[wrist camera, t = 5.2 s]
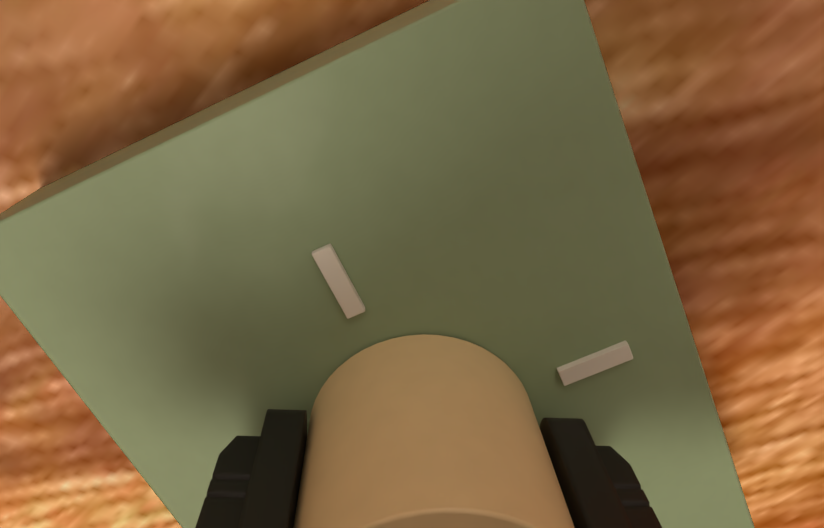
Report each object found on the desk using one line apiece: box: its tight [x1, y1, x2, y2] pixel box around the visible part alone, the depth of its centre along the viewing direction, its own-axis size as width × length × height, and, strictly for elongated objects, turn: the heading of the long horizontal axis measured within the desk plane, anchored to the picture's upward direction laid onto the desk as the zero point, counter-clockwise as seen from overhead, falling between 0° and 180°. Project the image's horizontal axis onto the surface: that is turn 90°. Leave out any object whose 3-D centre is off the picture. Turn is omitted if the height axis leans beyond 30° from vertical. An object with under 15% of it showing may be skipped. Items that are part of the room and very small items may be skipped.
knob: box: [293, 334, 575, 528], centre depth 11 cm, size 4×4×5 cm
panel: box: [0, 0, 754, 528], centre depth 15 cm, size 14×11×3 cm
